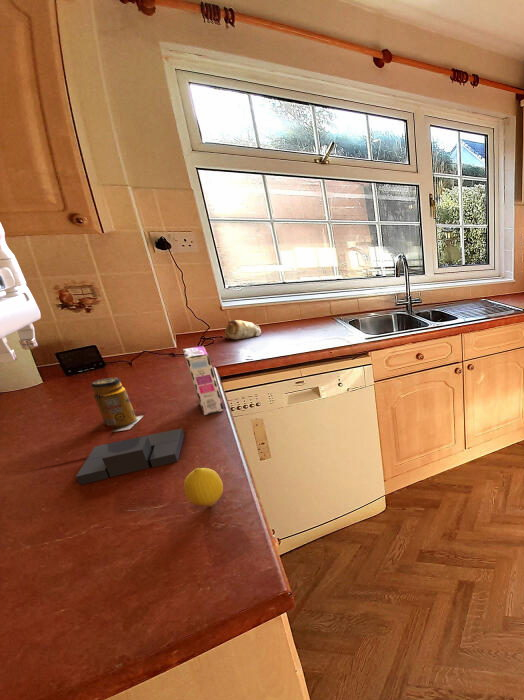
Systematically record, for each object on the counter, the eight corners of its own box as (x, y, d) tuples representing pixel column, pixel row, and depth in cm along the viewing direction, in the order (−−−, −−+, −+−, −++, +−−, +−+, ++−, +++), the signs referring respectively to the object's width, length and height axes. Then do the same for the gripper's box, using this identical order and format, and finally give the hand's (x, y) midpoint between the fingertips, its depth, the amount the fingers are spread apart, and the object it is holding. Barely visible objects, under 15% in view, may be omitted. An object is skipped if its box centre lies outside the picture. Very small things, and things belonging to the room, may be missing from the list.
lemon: (186, 508, 77) (172, 471, 74) (219, 492, 81) (207, 457, 78) (200, 519, 74) (186, 481, 71) (233, 502, 78) (221, 465, 75)
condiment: (144, 416, 114) (128, 374, 109) (130, 429, 106) (112, 385, 102) (110, 420, 111) (92, 378, 107) (94, 435, 104) (74, 390, 99)
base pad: (79, 485, 84) (75, 476, 84) (98, 453, 96) (95, 446, 95) (177, 461, 92) (174, 453, 91) (184, 435, 103) (182, 428, 102)
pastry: (218, 340, 183) (213, 322, 180) (237, 332, 194) (232, 315, 191) (250, 340, 182) (245, 322, 179) (267, 332, 194) (262, 315, 191)
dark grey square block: (110, 477, 87) (101, 458, 85) (117, 462, 92) (109, 444, 90) (149, 467, 90) (142, 449, 88) (154, 454, 95) (147, 436, 93)
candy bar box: (226, 410, 116) (208, 354, 110) (204, 416, 113) (185, 358, 107) (220, 398, 124) (203, 344, 117) (199, 403, 121) (181, 348, 115)
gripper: (-13, 272, 79) (19, 343, 84) (-79, 286, 63) (-34, 374, 68) (34, 270, 82) (63, 339, 87) (-17, 283, 66) (22, 367, 71)
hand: (20, 354), depth 77 cm, fingers open, 8 cm apart
